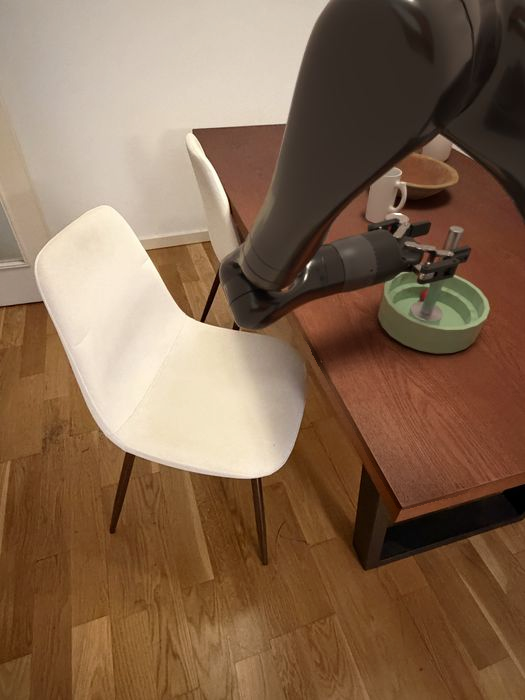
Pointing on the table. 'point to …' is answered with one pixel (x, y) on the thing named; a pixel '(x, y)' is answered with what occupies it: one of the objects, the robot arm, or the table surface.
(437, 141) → the alcohol
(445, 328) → the bowl
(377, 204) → the mug
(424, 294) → the berry
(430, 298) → the metal tamper
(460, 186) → the table surface
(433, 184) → the bowl
